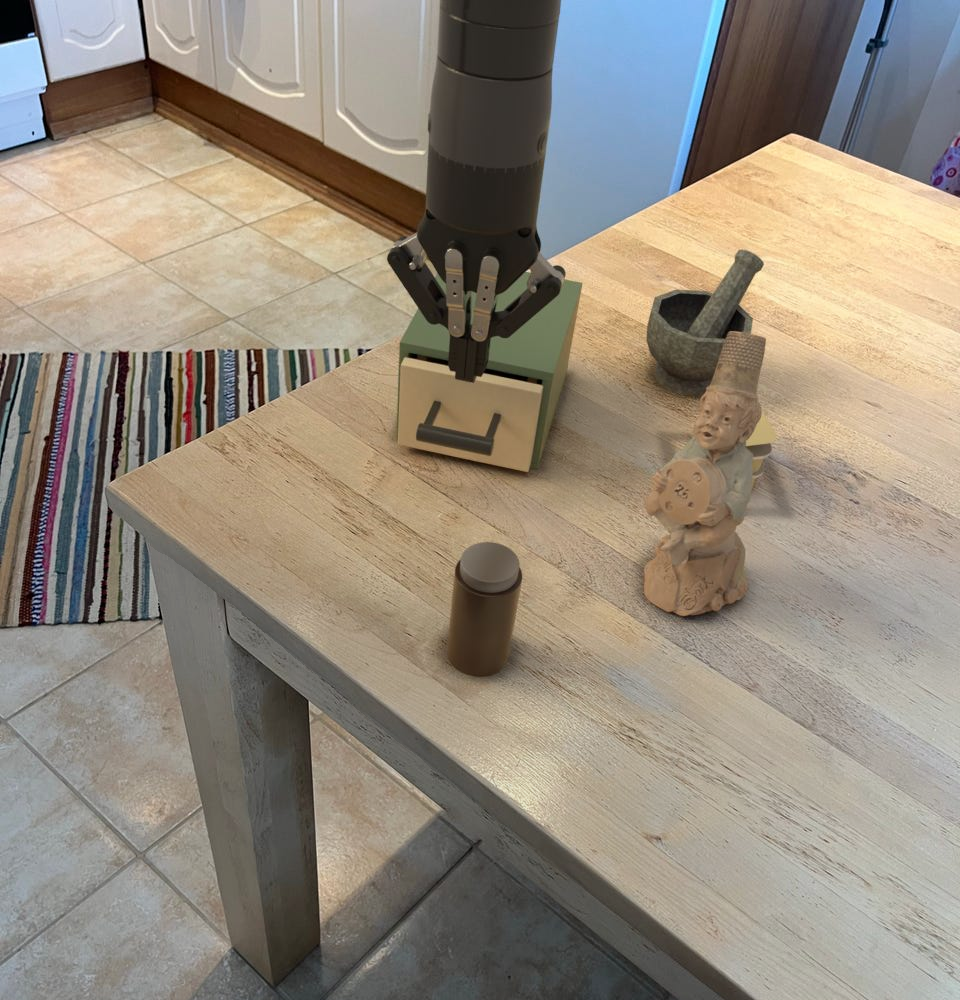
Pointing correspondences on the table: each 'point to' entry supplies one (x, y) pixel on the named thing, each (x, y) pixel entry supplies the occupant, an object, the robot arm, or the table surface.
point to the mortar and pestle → (698, 327)
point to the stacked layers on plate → (760, 445)
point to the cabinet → (513, 347)
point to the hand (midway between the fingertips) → (466, 375)
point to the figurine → (708, 491)
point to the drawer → (468, 413)
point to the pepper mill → (483, 609)
